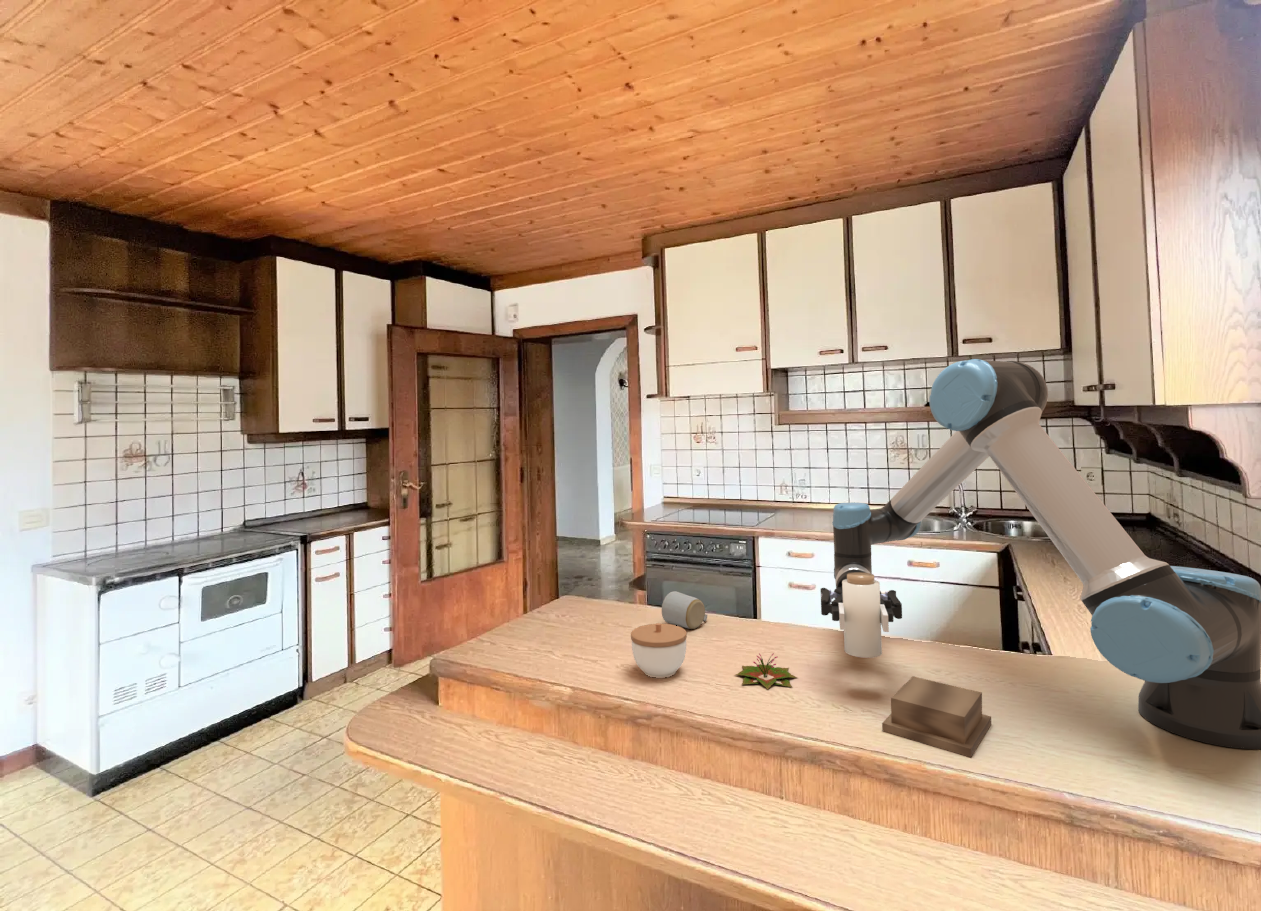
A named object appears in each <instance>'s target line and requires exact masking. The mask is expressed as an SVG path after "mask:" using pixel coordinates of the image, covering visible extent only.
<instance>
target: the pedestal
mask: <svg viewBox="0 0 1261 911" xmlns="http://www.w3.org/2000/svg"><path fill="white" fill-rule="evenodd" d="M890 709H891V710H890V712H891V713H890V714H889V715H888V716H887V717H886V719H884V721H883V722H882V723H881V725H882V727H881V728H882V730H881V731H883V732H885V733H889V734H890V735H891V734H892V735H895V736H899V737H902V738H906V739H908V740H912V741H915V742H918V743H921V744H925V745H929V746H932V747H935V748H938V749H941V750H945V751H949V752H952V753H955V754H959V755H963V756H966V757H968V758H972V757H973V755H974V754H975V751H976V750H977V749H978V746H979V745H980V743H981V742H982V740H983V738H984V737H985V735H986V734H987V732H988V730H989V728H990V727H991V726H992V716H991V715H986V714H984V713H983V692H981V691H977V690H972V689H970V688H969V689H968V688H966V687H965V688H964V687H960V686H957V685H952V684H948V683H947V684H946V683H942V682H938V681H934V680H930V679H926V678H922V677H917V676H911V677H910V678H909V679H908V680H907V681H906V682H905V683H904V684H903V685H902V686H901V687H900V689H898V690H897V691H896V692H895V693H894V694H893V695H892V696H891V697H890Z"/></svg>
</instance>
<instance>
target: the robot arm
mask: <svg viewBox="0 0 1261 911" xmlns="http://www.w3.org/2000/svg"><path fill="white" fill-rule="evenodd" d="M1048 398H1049V388H1048V385H1047V383H1046V381H1045V377H1043V375H1042V374H1041V373H1040V372H1039V370H1037V369H1036V368H1034V367H1033V366H1031V365H1029V364H1027V363H1023V362H1020V361H1013V360H1011V361H1010V360H1006V361H1002V360H987V359H986V360H985V359H983V360H982V359H979V358H972V359H968V360H960V361H956V362H954V363H952V364H949V365H948V366H947V367H945V368H944V369H942V370H941V371H940V373H939V374H938V375H937V376H936V378H935V379H934V381H933V383H932V386H931V392H930V395H929V398H928V399H929V408H930V412H931V414H932V416H933V418H934V420H935V421H936V422H937V423H938V424H939V425H940V426H941V427H943V428H945V429H948V430H951V431H954V433H953V434H952V435H951V436H950V437H949V438H948V439H947V440H946V441H945V442H944V444H943V445H941V447H940V448H938V450H936V451H935V452H934V454H933V455H932V456H931V457H930V458H929V459H928V460H927V461H926V462H925V463H924V464H923V465H922V466H921V467H920V468H919V470H917V472H915V474H914V475H913V476H912V477H910V479H909V480H908V481H907V482H906V483H905V484H903V486H902V487H901V488H900V489H899V490H898V491H897V492H896V493H895V494H894V495H893V497H892V498H891V499H890V500H888V502H887V503H885V505H884V506H882V507H881V508H875V509H874V508H872V509H871V507H870V506H869V504H867V503H865V502H851V501H850V502H840V503H837V504H835V505H834V506H833V509H832V510H833V511H832V523H831V524H832V527H833V528H832V530H833V551H834V552H833V561H834V565H833V578H834V580H835V589H834V590H833V591H832V590H831V589H828V588H826V587H821V588H820V609H821V610H820V614H821V615H822V616H828V615H829V614H831V620H832V621H833V622H839V630H841V631H844V630H845V615H844V607H843V590H842V581H843V580H845V579H847V574H848V573H855V572H862V573H870V574H873V572H872V571H873V570H872V566H873V565H872V545H877V544H885V543H889V542H895V541H897V542H898V541H905V540H907V539H909V538H910V539H911V538H912V537H914V536H916V535H917V534H918V533H919V531H920V529H921V525H922V521H923V519H924V518H926V517H927V516H928V515H929V514H930V513H931V512H932V511H933V510H934V509H935V508H937V506H939V505H940V503H942V501H943V500H945V499H946V498H947V497H948V496H949V495H950V494H951V493H952V492H953V491H954V490H955V489H957V488H958V486H960V485H961V484H962V483H963V482H964V481H965V480H966V479H967V478H968V477H969V476H970V475H971V474H973V472H975V470H977V469H978V468H979V467H980V466H981V465H982V464H983V463H984V462H986V460H987V459H988V458H990V459H991V460H992V461H993V463H994V464H995V466H996V467H997V468H998V470H999V472H1001V474H1002V475H1003V476H1004V478H1005V480H1006V481H1007V482H1008V483H1009V485H1010V486H1011V487H1012V489H1013V491H1014V492H1016V494H1017V495H1018V497H1019V499H1020V500H1021V501H1022V503H1024V505H1025V506H1026V508H1027V509H1028V510H1029V513H1031V515H1032V516H1033V518H1034V519H1035V520H1036V522H1037V523H1038V524H1039V526H1040V527H1041V529H1042V530H1043V531H1044V532H1045V534H1046V535H1047V537H1048V538H1049V539H1050V541H1051V542H1052V543H1053V545H1054V546H1055V548H1056V549H1057V550H1058V551H1059V553H1060V554H1061V556H1062V557H1063V558H1064V560H1065V561H1066V562H1067V564H1068V565H1069V567H1070V568H1071V569H1072V570H1073V572H1074V573H1075V575H1076V576H1077V577H1078V580H1080V582H1081V583H1082V586H1083V587H1082V589H1081V590H1082V591H1081V595H1080V600H1081V602H1082V604H1083V605H1084V606H1085V608H1086V609H1087V611H1088V612H1089V614H1090V615H1091V616H1092V617H1091V619H1090V622H1091V626H1090V628H1089V629H1090V631H1089V632H1090V636H1091V638H1092V642H1093V643H1094V645H1095V647H1096V649H1097V650H1098V652H1099V653H1100V654H1101V655H1102V656H1103V658H1104V659H1105V660H1106V661H1107V662H1109V664H1110V665H1112V666H1113V667H1115V668H1116V669H1118V670H1119V671H1121V672H1123V673H1124V674H1126V675H1128V676H1130V677H1133V678H1136V679H1139V680H1142V681H1144V683H1143V685H1142V686H1141V689H1140V690H1139V693H1138V696H1137V697H1138V702H1137V704H1138V705H1137V706H1138V708H1137V709H1138V713H1139V715H1141V716H1142V717H1143V718H1144V719H1145V720H1147V721H1148V722H1150V723H1151V724H1153V725H1154V726H1157V727H1158V728H1161V729H1163V730H1166V731H1167V732H1169V733H1173V734H1175V735H1177V736H1181V737H1183V738H1186V739H1190V740H1193V741H1197V742H1202V743H1205V744H1209V745H1214V746H1220V747H1226V748H1232V749H1233V748H1234V749H1244V750H1245V749H1247V750H1259V749H1261V584H1260V583H1259V581H1257V580H1256V579H1255V578H1252V577H1249V576H1247V575H1241V574H1238V573H1231V572H1225V571H1218V570H1211V569H1204V568H1197V567H1196V568H1195V567H1187V566H1175V565H1170V564H1169V563H1167V562H1165V561H1162V560H1159V559H1155V558H1150V557H1148V556H1147V555H1145V554H1144V552H1143V551H1142V550H1141V549H1140V547H1139V546H1138V544H1136V542H1135V541H1134V540H1133V539H1132V537H1131V536H1130V534H1128V533H1127V531H1126V530H1125V529H1124V528H1123V526H1122V524H1120V522H1119V521H1118V520H1117V519H1116V517H1115V516H1114V515H1113V514H1112V513H1111V511H1110V510H1109V509H1108V507H1107V506H1106V505H1105V504H1104V503H1103V500H1101V499H1100V498H1099V496H1098V495H1097V494H1096V493H1095V491H1094V490H1093V489H1092V488H1091V486H1090V485H1089V483H1087V481H1085V479H1084V478H1083V476H1081V474H1080V473H1079V471H1078V470H1077V469H1076V468H1075V467H1074V465H1073V464H1072V463H1071V462H1070V461H1069V459H1068V458H1067V457H1066V456H1065V454H1064V453H1063V452H1062V451H1061V450H1060V448H1059V447H1058V445H1057V444H1056V443H1055V442H1054V441H1053V439H1052V438H1051V437H1050V436H1049V435H1048V434H1049V433H1047V432H1046V431H1045V430H1044V428H1043V427H1042V426H1041V424H1040V421H1041V417H1042V413H1043V411H1044V410H1045V408H1046V405H1047V402H1048ZM902 604H903V603H902V602H901V601H900V600H899V598H898V596H897V591H896V590H893V589H890V590H888V591H885V592H884V593H882V591H881V590H880V612H881V629H882V630H883V632H884V633H889V632H890V629H889V623H894V620H895V619H898V620H901V619H903V605H902ZM894 618H895V619H894Z"/></svg>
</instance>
